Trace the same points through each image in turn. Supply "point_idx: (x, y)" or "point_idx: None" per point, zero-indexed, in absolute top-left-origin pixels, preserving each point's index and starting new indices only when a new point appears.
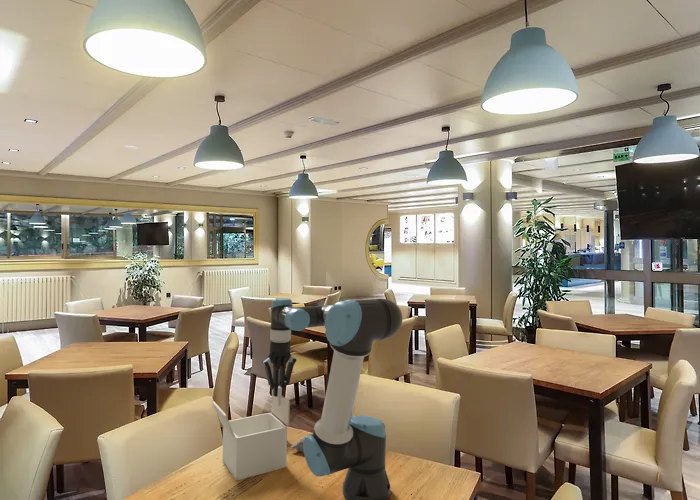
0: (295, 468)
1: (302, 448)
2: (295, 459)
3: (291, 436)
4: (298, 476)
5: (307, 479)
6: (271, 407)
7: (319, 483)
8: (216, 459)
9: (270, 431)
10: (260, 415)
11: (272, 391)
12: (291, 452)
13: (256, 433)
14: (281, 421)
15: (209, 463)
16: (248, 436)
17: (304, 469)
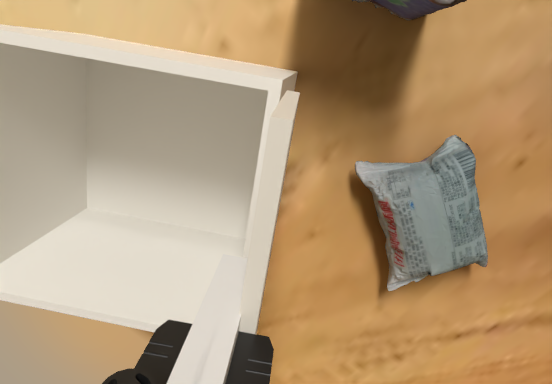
0: (286, 272)
1: (379, 217)
2: (327, 221)
3: (472, 10)
4: (263, 315)
5: (275, 344)
6: (285, 93)
7: (289, 380)
8: (65, 3)
9: (142, 326)
10: (198, 77)
11: (269, 130)
12: (353, 163)
13: (63, 310)
14: (426, 4)
15: (32, 20)
16: (23, 300)
17: (306, 296)
